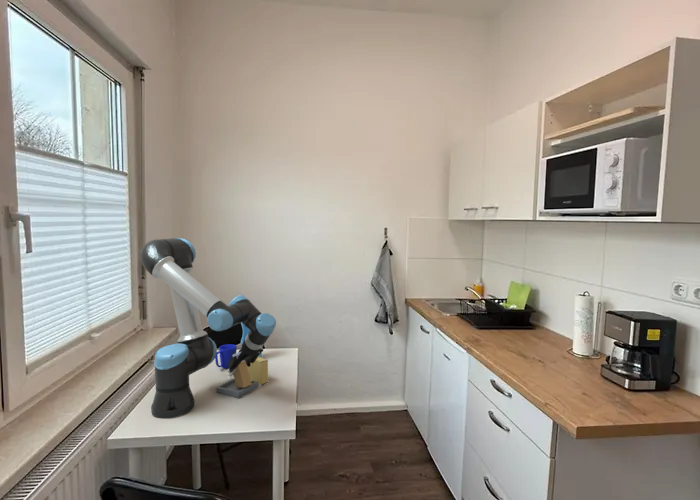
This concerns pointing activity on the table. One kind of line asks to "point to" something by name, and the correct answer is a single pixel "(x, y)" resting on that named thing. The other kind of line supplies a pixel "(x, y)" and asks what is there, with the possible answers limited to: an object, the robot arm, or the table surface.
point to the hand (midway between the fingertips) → (235, 372)
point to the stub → (242, 376)
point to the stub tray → (235, 389)
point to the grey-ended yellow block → (259, 371)
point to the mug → (225, 354)
